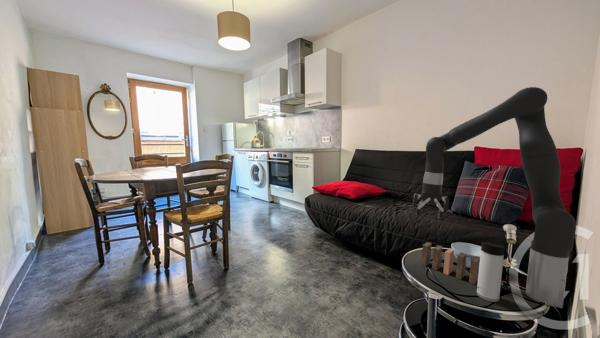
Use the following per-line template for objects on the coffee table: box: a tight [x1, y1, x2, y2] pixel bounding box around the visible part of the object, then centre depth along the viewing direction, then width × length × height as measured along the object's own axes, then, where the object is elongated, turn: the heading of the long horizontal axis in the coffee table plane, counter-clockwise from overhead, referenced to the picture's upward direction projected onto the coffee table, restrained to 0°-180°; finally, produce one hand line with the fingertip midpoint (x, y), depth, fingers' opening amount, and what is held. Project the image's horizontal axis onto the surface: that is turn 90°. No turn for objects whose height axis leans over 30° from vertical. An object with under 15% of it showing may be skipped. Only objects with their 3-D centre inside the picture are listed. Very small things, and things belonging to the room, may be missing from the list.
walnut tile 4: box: [468, 256, 480, 286], centre depth 93 cm, size 2×5×10 cm, turn 130°
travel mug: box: [476, 241, 505, 303], centre depth 83 cm, size 6×7×20 cm
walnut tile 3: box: [455, 252, 467, 280], centre depth 96 cm, size 2×5×10 cm, turn 130°
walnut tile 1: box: [421, 241, 433, 267], centre depth 106 cm, size 2×5×10 cm, turn 130°
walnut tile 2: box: [431, 244, 443, 271], centre depth 103 cm, size 2×5×10 cm, turn 130°
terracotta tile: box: [443, 248, 455, 276], centre depth 100 cm, size 2×5×10 cm, turn 130°
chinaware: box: [450, 241, 481, 269], centre depth 106 cm, size 15×15×8 cm
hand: (428, 217), depth 106 cm, fingers open, 8 cm apart
